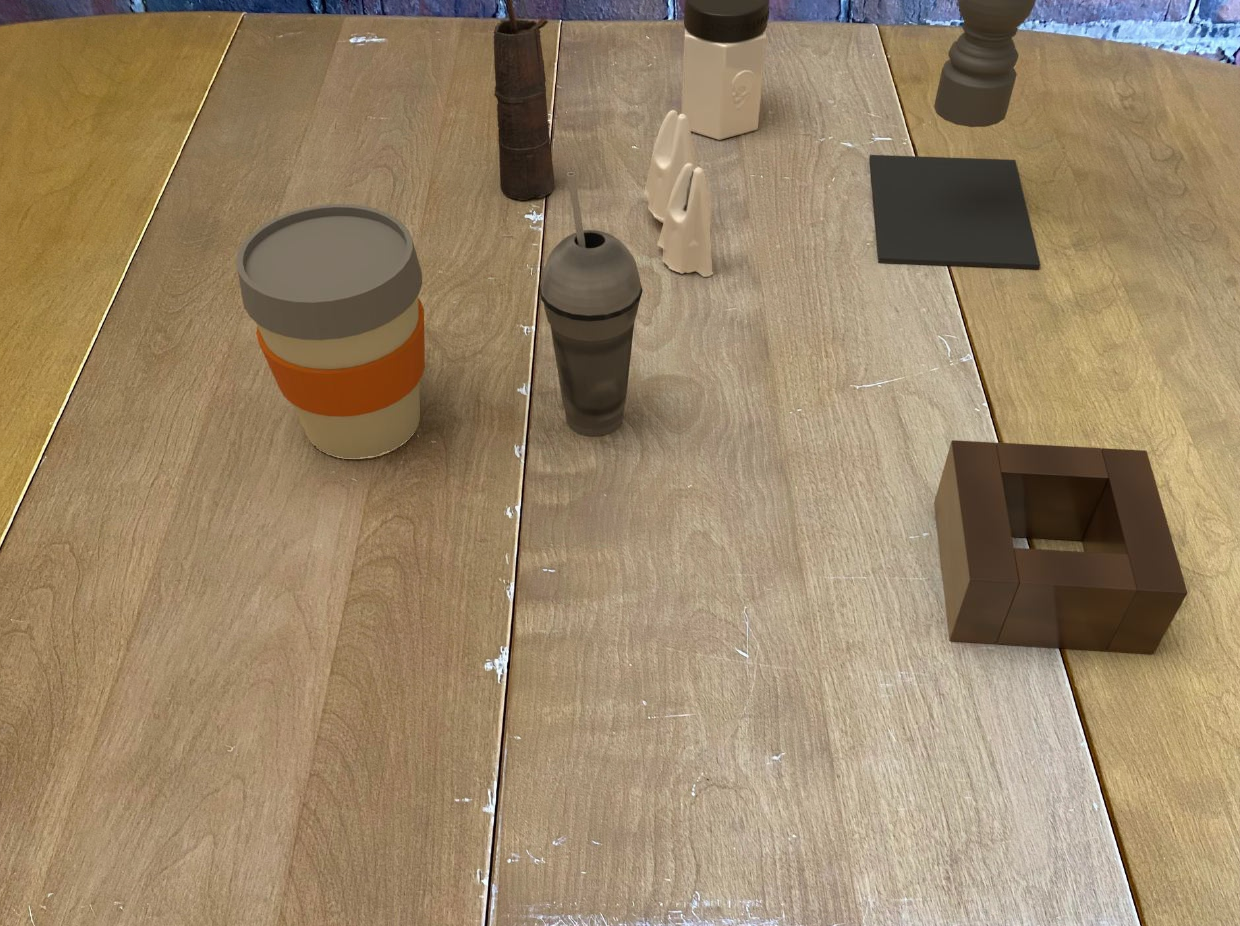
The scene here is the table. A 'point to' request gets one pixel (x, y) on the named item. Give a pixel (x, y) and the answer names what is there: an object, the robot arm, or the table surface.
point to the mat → (951, 212)
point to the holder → (1051, 579)
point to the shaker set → (680, 199)
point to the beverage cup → (591, 323)
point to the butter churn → (522, 109)
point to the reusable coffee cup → (340, 322)
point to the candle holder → (982, 63)
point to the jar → (723, 65)
